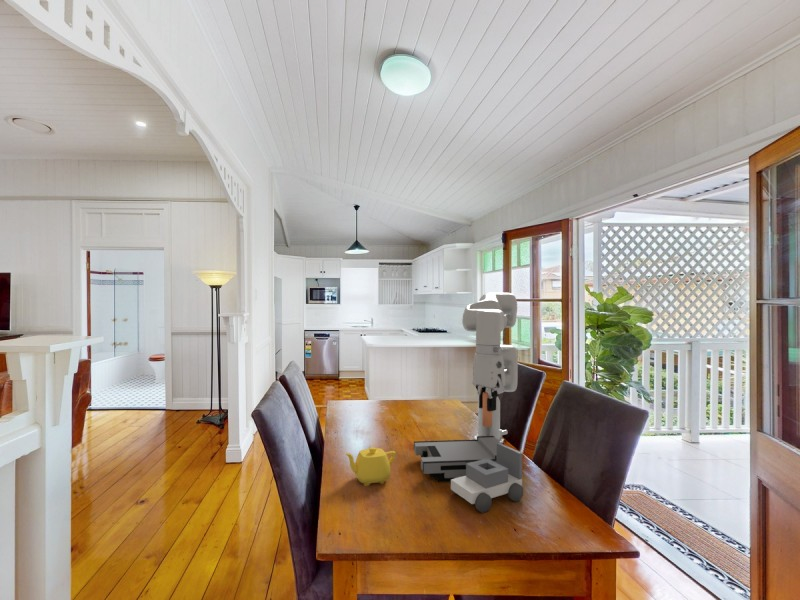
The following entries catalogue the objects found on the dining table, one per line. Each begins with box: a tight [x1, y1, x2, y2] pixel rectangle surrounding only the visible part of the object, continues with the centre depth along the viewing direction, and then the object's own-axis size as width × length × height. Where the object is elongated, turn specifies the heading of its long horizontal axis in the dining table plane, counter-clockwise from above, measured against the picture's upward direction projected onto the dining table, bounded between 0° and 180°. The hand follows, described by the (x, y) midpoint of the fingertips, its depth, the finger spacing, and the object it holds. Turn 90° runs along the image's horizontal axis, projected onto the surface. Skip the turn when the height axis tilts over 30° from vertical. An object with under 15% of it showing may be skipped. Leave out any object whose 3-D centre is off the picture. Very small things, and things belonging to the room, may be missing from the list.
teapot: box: [344, 446, 397, 487], centre depth 127 cm, size 18×11×11 cm, turn 110°
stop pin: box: [482, 392, 492, 427], centre depth 117 cm, size 3×3×10 cm
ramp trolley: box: [449, 443, 525, 514], centre depth 117 cm, size 20×13×14 cm, turn 119°
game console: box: [413, 436, 503, 483], centre depth 137 cm, size 21×32×8 cm, turn 97°
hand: (487, 408), depth 117 cm, fingers closed on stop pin, 3 cm apart
